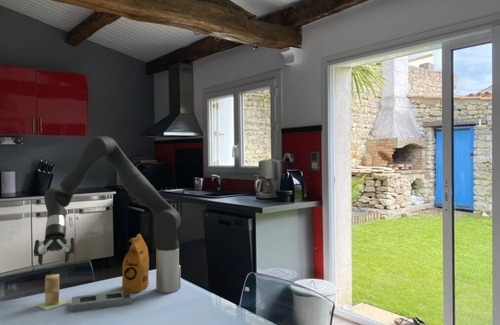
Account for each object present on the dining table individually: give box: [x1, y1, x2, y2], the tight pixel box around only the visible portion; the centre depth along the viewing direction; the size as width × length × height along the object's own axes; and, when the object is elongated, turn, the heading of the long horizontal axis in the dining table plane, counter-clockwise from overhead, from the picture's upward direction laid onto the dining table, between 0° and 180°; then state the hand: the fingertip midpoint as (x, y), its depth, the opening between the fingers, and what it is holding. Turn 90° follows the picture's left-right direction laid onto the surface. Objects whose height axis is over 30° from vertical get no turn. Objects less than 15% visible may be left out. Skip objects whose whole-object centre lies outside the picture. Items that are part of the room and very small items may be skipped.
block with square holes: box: [70, 290, 131, 313], centre depth 143 cm, size 20×9×2 cm, turn 113°
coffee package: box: [121, 233, 150, 294], centre depth 162 cm, size 10×12×22 cm
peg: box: [44, 273, 60, 306], centre depth 142 cm, size 4×4×10 cm
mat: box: [35, 298, 69, 311], centre depth 142 cm, size 8×8×1 cm
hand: (53, 263), depth 147 cm, fingers open, 8 cm apart
